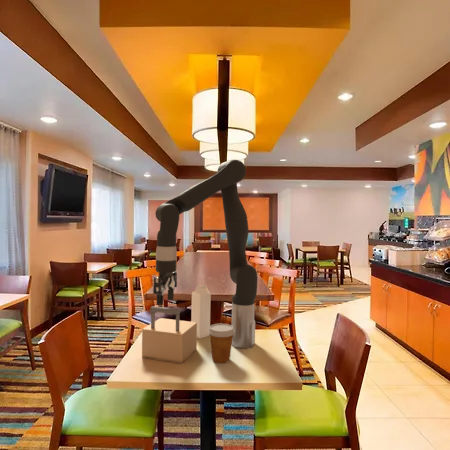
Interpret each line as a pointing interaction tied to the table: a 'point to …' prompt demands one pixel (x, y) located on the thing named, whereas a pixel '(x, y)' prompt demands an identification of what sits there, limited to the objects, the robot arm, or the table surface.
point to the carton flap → (168, 322)
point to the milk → (201, 310)
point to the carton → (169, 346)
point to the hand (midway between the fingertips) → (165, 302)
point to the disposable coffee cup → (221, 342)
